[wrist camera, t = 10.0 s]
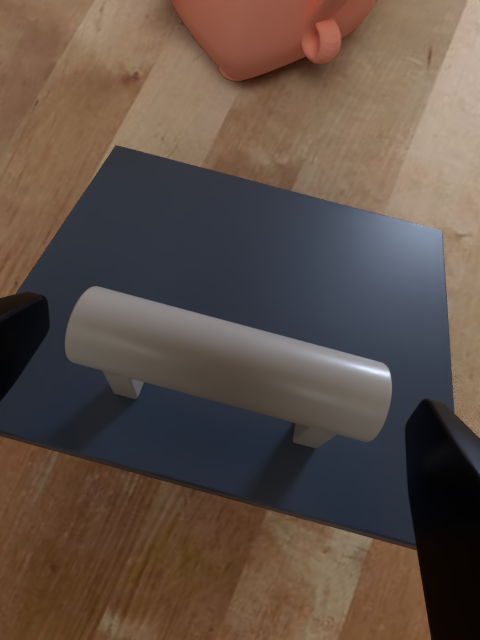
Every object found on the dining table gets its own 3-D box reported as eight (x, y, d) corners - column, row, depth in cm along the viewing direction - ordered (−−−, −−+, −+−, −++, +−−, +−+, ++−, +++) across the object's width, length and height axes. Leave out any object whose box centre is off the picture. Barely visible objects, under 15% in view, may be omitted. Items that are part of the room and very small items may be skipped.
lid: (445, 558, 10) (632, 574, 6) (-50, 422, 10) (-215, 342, 6) (431, 243, 16) (519, 139, 12) (118, 161, 16) (94, 29, 12)
